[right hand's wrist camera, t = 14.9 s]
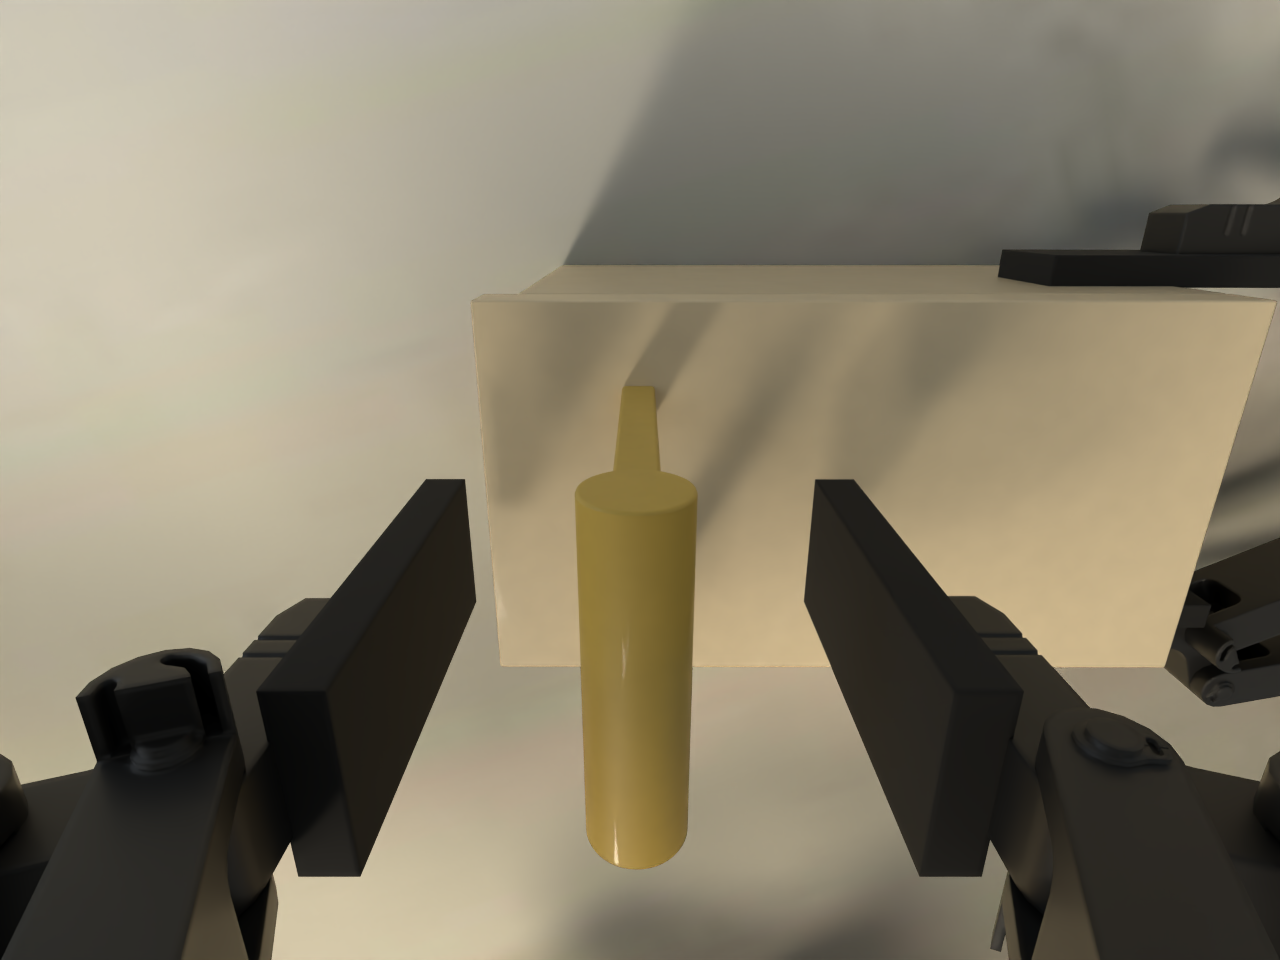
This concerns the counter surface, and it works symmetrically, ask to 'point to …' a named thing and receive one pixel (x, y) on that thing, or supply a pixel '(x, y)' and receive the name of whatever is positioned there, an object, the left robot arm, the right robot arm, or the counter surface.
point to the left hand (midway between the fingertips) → (992, 444)
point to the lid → (834, 449)
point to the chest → (808, 280)
